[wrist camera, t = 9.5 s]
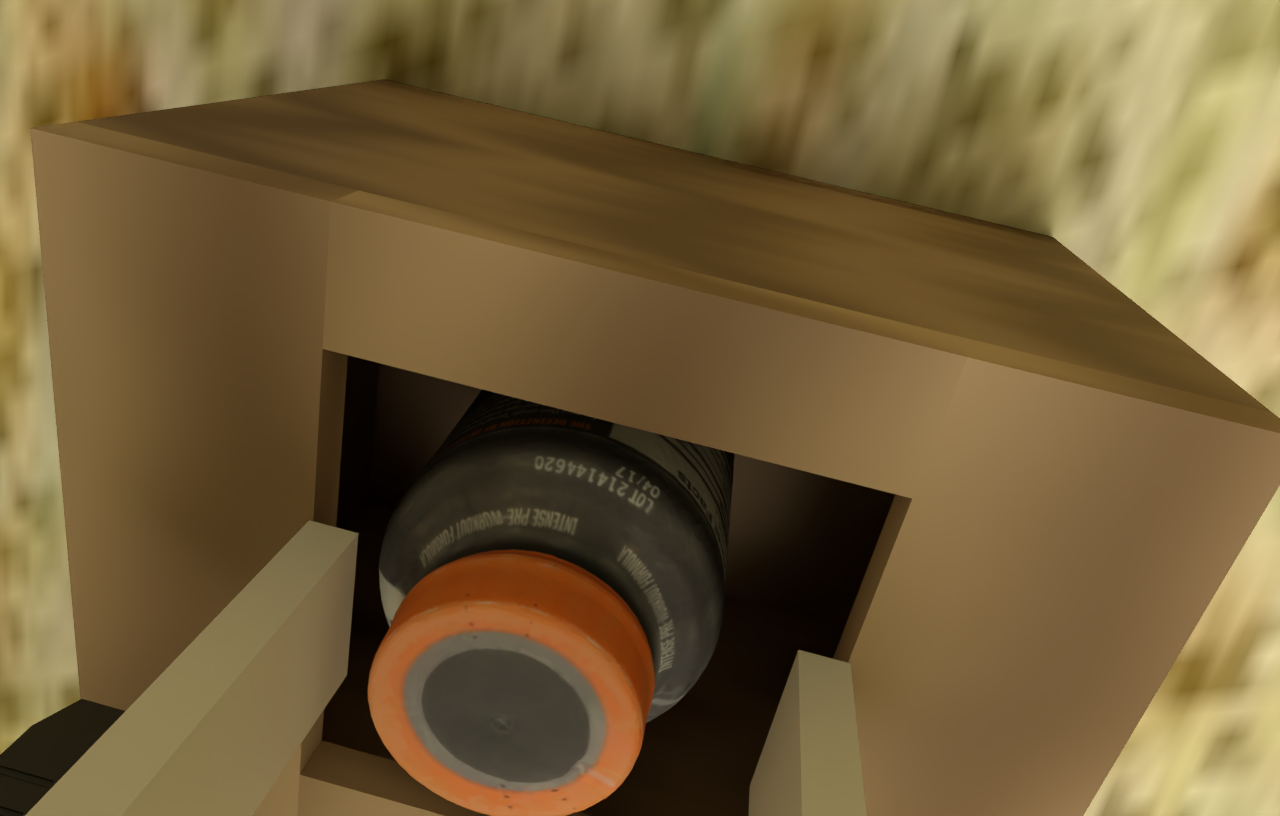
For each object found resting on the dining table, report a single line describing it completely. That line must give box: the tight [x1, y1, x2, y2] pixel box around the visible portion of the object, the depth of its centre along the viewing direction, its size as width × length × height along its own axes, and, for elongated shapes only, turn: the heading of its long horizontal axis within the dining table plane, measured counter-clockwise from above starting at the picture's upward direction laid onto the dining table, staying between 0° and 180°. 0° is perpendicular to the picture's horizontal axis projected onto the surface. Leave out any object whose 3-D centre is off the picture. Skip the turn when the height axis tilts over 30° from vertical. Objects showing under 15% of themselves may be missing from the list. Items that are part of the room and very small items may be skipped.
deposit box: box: [31, 80, 1280, 816], centre depth 18 cm, size 16×12×11 cm
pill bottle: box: [368, 389, 735, 816], centre depth 17 cm, size 6×6×11 cm
